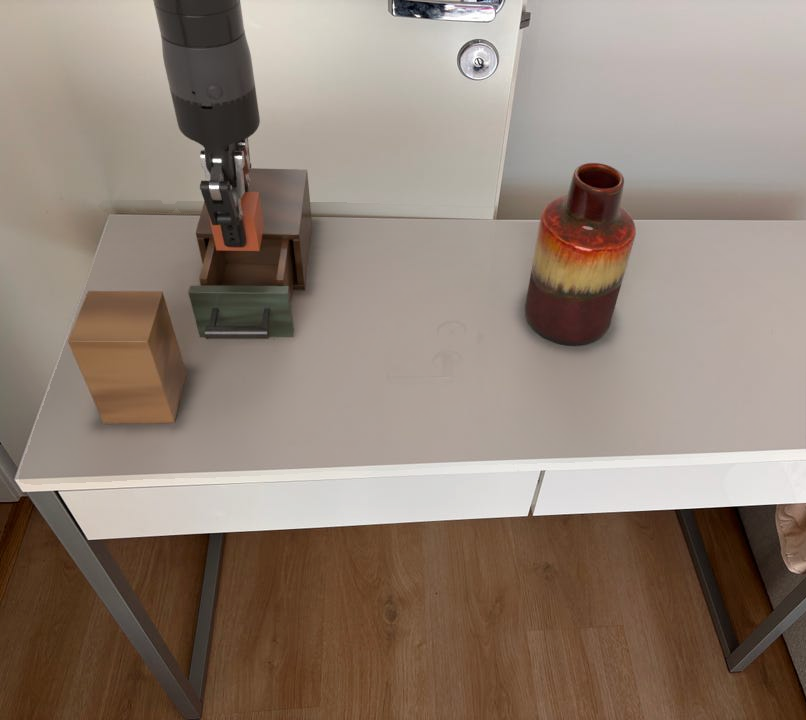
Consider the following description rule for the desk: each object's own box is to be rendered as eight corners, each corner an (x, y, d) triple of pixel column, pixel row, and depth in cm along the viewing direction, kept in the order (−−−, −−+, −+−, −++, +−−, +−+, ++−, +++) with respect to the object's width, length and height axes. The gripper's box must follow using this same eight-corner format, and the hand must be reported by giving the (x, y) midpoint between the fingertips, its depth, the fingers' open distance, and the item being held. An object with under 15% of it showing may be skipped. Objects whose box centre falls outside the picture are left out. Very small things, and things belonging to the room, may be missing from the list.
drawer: (290, 364, 84) (284, 319, 79) (193, 364, 83) (180, 319, 78) (301, 267, 95) (296, 223, 90) (216, 266, 94) (206, 222, 89)
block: (259, 251, 81) (254, 216, 78) (216, 250, 81) (208, 216, 77) (264, 225, 84) (259, 191, 81) (222, 225, 84) (215, 190, 80)
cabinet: (305, 290, 94) (299, 234, 88) (208, 289, 92) (195, 232, 86) (312, 224, 103) (307, 169, 97) (224, 222, 102) (213, 167, 95)
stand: (174, 423, 78) (147, 341, 70) (103, 424, 77) (67, 341, 69) (186, 373, 83) (162, 291, 74) (119, 373, 82) (87, 290, 73)
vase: (521, 340, 91) (546, 198, 76) (527, 282, 98) (550, 143, 84) (610, 352, 91) (652, 212, 76) (609, 293, 98) (647, 155, 84)
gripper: (183, 43, 74) (213, 191, 86) (152, 118, 64) (191, 273, 76) (262, 47, 75) (280, 193, 87) (244, 121, 65) (267, 274, 77)
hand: (238, 229), depth 82 cm, fingers closed on block, 4 cm apart
